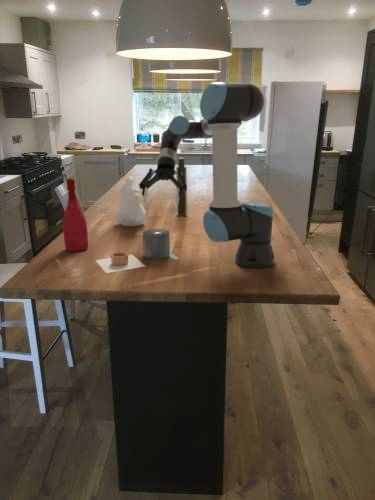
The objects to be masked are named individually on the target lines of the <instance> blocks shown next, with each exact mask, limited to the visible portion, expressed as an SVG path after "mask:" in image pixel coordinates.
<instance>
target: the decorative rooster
mask: <svg viewBox="0 0 375 500" xmlns="http://www.w3.org/2000/svg"><path fill="white" fill-rule="evenodd" d="M139 189H140V188H139V185H137V183H136V182H135V179H134V178H133V176H131V175H130V176H127V177H126V178H125V181H124V182H123V183H122V185H121V189H120V200H119V203H118V206H119V207H118V208H117V209H116V211H115V220H116V222H117V223H118V224H120V225H122V226H123V227H130V226H131V227H133V226H134V227H139V226H142V224H143V223H145V221H146V218H147V212H146V210H145V208H144V207H143V205H142V204H141V202H140V201H141V195H140V190H139Z"/></svg>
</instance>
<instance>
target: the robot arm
mask: <svg viewBox="0 0 375 500" xmlns="http://www.w3.org/2000/svg"><path fill="white" fill-rule="evenodd" d="M203 90H204V91H203V92H202V94H201V98H200V103H199V109H200V114H201V117H202V119H201V120H191V119H190V120H189V119H188V118H187V117H186V116H183V115H181V114H180V115H179V114H177V115H175V116H174V117H173V118H172V120H171V121H170V122H169V125H168V127H167V128H166V130H164V131H163V132H162V136H161V139H160V140H161V143H160V148H159V154H158V160H157V166H156V169H153V168H149V169H148V172H147V174H146V175H145V176H144V178H143V179H142V180H141V181H140V182H139V184H138V188H139V189H141V190H142V192H141V195H142V197H143V199H142V202H143V204H144V205H147V200H148V194H149V189H150V188H151V187H152V186H153V185H154V184H155V183H157V182H159V181H170V182H172V183H173V185H175V187H176V188H177V189H176V197H175V198H176V199H175V204H176V206H179V203H180V198H181V199H182V197H183V192H184V191H188V185H187V183H186V180H185V179H184V177H183V175H182V169H180V168H178V169H177V170H176V169H175V168H176V161H177V156H178V155H177V153H178V147H179V145H180V144H181V142H182V141H183V140H185V139H186V140H188V139H212V140H211V144H212V146H211V147H212V193H213V194H212V197H213V200H212V201H211V202H210V203H209V209H208V210H207V211H206V212H204V214H203V217H202V221H203V222H202V223H203V228H204V231H205V234H206V235H207V237H208V239H209V240H211V242H214V243H227V242H230V241H237V240H240V242H239V244H238V247H237V250H236V253H235V255H234V262H235V263H236V264H237V265H238V266H241V267H244V268H251V269H263V268H270V267H272V266H273V265H274V264H275V254H274V251H273V250H274V249H273V245H272V234H273V233H272V232H273V219H274V215H273V212H274V210H273V209H274V208H273V207H272V206H271V204H270V205H269V204H267V203H262V202H258V201H257V202H256V201H243V202H241V201H240V200H239V199H238V129H239V128H240V127H241V126H242V125H243V123H242V122H248V121H251V120H253V119H255V118H257V117H258V116H260V114H261V113H262V111H263V109H264V106H265V98H264V94H263V93H262V91H261V89H260V88H259V87H258V86H257V85H255V84H253V83H250V82H249V83H247V82H243V83H242V82H232V81H231V82H230V81H229V82H228V81H217V82H210V83H209V84H207V86H206V87H205V89H203ZM175 175H176V176H177V177H178V179H179V181H180V182H179V181H178V180H177V179H176V177H175Z"/></svg>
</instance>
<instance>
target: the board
mask: <svg viewBox="0 0 375 500" xmlns="http://www.w3.org/2000/svg"><path fill="white" fill-rule="evenodd" d="M94 261H95V262H96V263H97V265H98V266H99V267H100V268H101V269H102V270H103V272H105V273H106V274H110V273H115V272H116V273H117V272H121V271H127V270H133V269H138V268H139V269H140V268H144V267H146V265H145V264H144V263H142V261H140V260H139V259H138V258H137V257H136V256H134V255H133V254H128V263H127V264H125V265H121V266H116V265H114V264H112V262H111V257H108V258H101V259H96V260H94Z"/></svg>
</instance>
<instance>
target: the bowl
mask: <svg viewBox="0 0 375 500" xmlns="http://www.w3.org/2000/svg"><path fill="white" fill-rule="evenodd" d="M128 255H129V253H127V252H126V251H125V252H123V251H117V252H113V253H111V254H110V258H111V262H112V264H114V265H116V266H121V265H125V264H127V263H128Z"/></svg>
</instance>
